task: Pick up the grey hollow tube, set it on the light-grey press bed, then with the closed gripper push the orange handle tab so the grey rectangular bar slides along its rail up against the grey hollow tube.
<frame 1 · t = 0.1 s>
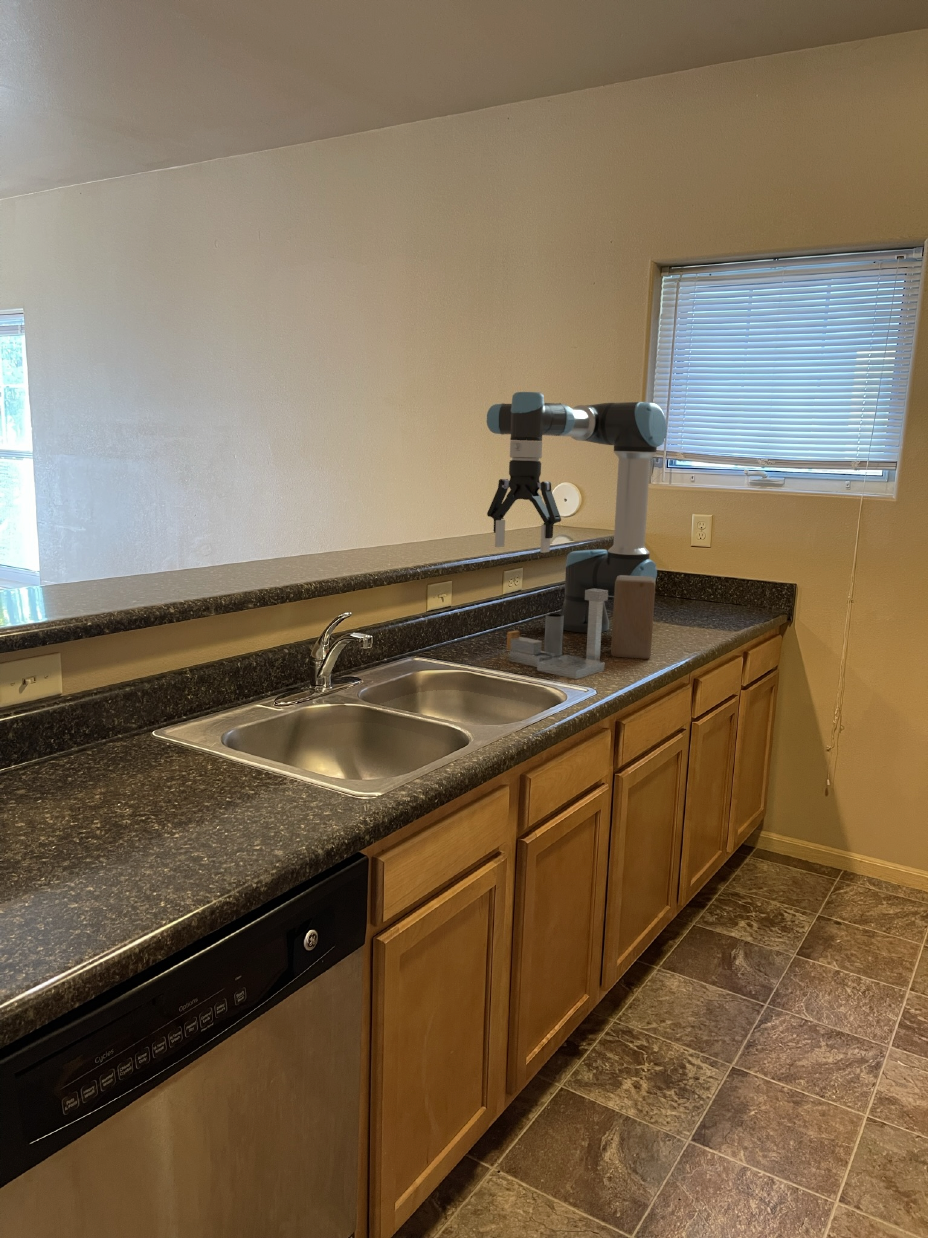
hand: (521, 549, 219), 28 cm above the counter, fingers open, 13 cm apart
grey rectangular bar: (524, 642, 226), point 4 cm above the counter, slide at 0.0 cm
grey hollow tube: (552, 655, 234), on the counter
wooden block: (630, 655, 237), on the counter
press: (540, 663, 224), on the counter
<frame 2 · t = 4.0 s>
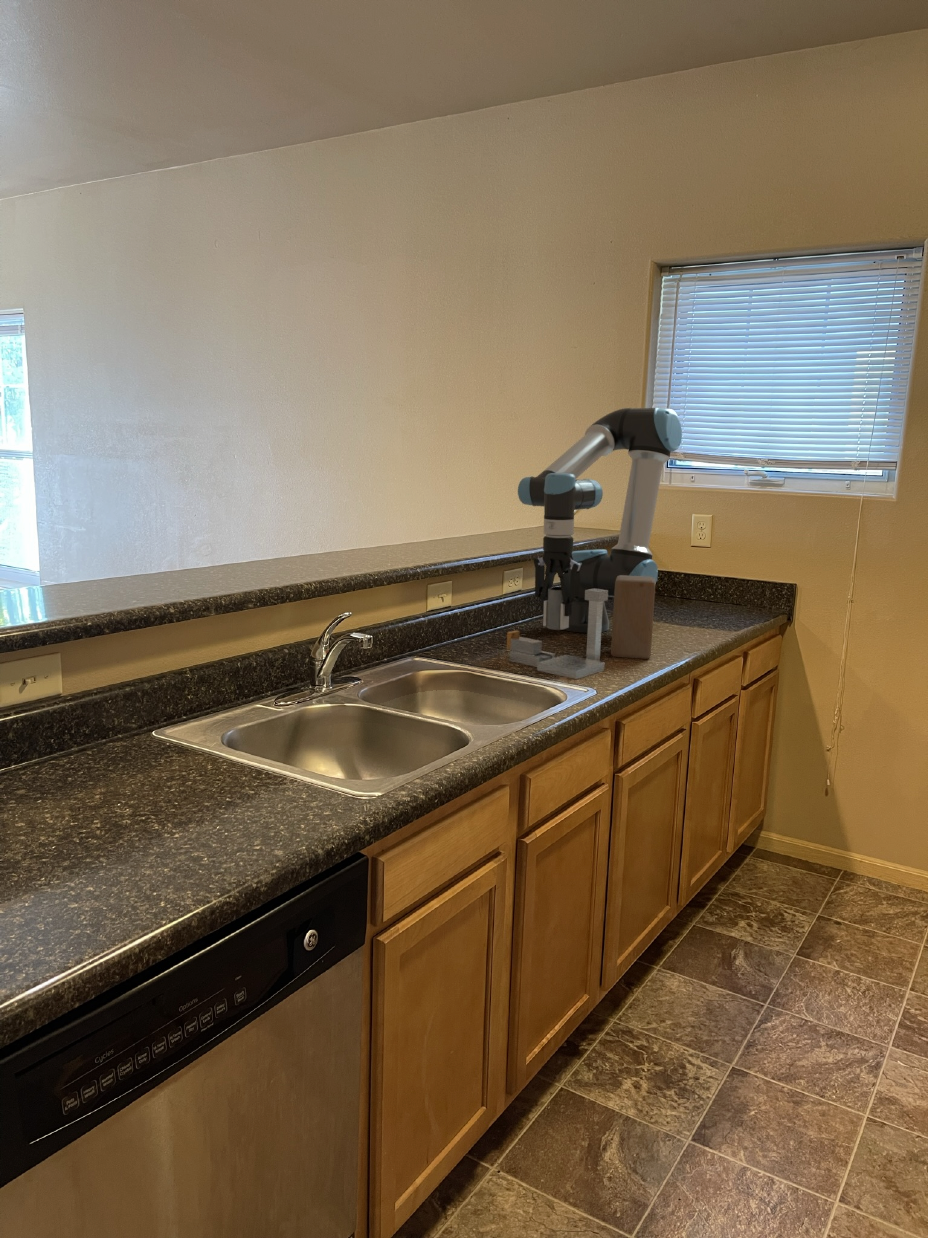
hand: (555, 626, 234), 7 cm above the counter, fingers closed on grey hollow tube, 4 cm apart
grey hollow tube: (556, 628, 234), point 7 cm above the counter, touching gripper
everything else where it was.
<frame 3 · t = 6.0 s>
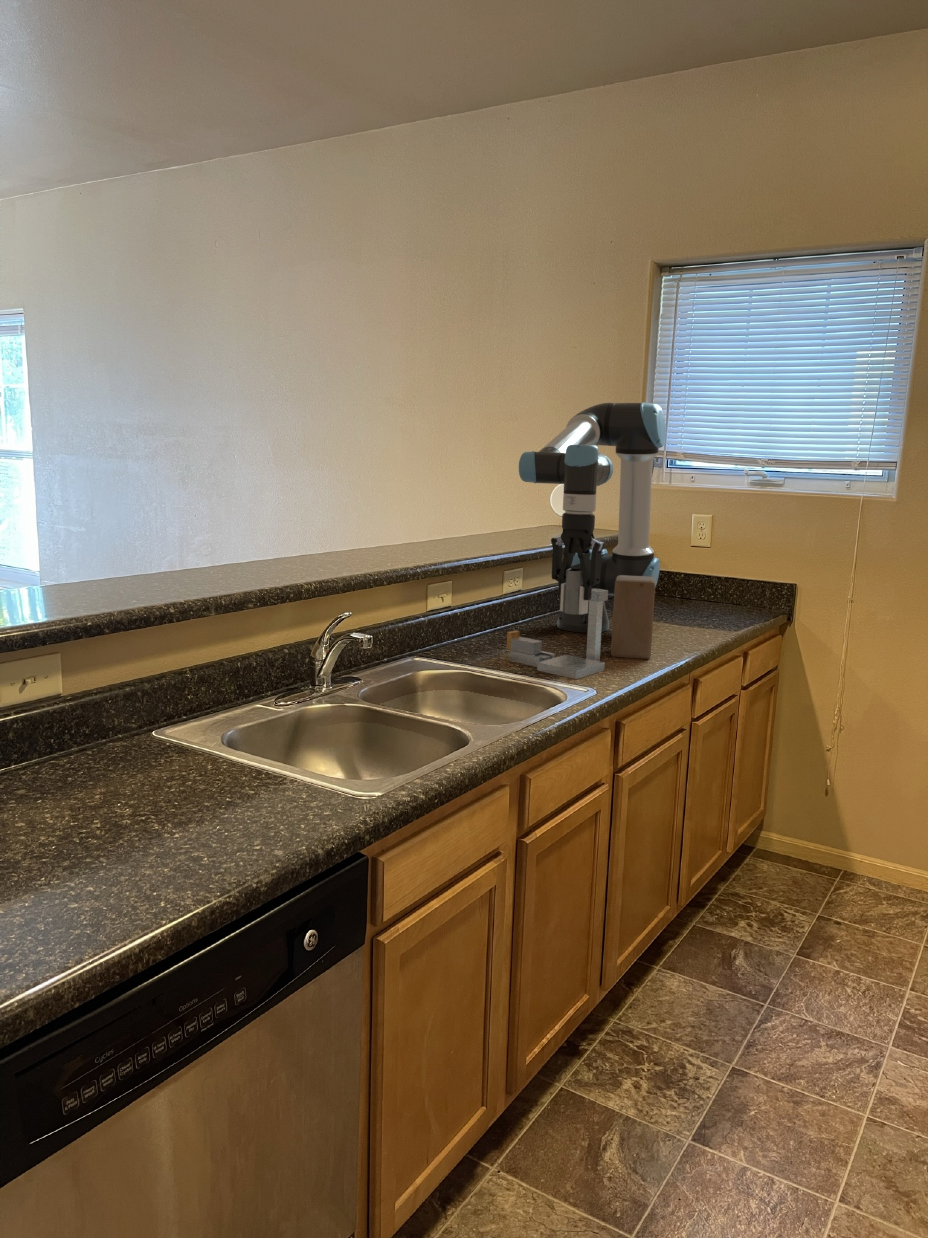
hand: (573, 611, 215), 14 cm above the counter, fingers closed on grey hollow tube, 4 cm apart
grey hollow tube: (573, 613, 215), point 14 cm above the counter, touching gripper
everything else where it was.
when the fingers open (3 cm above the counter, at t = 8.1 s): grey hollow tube stays where it is, resting on press.
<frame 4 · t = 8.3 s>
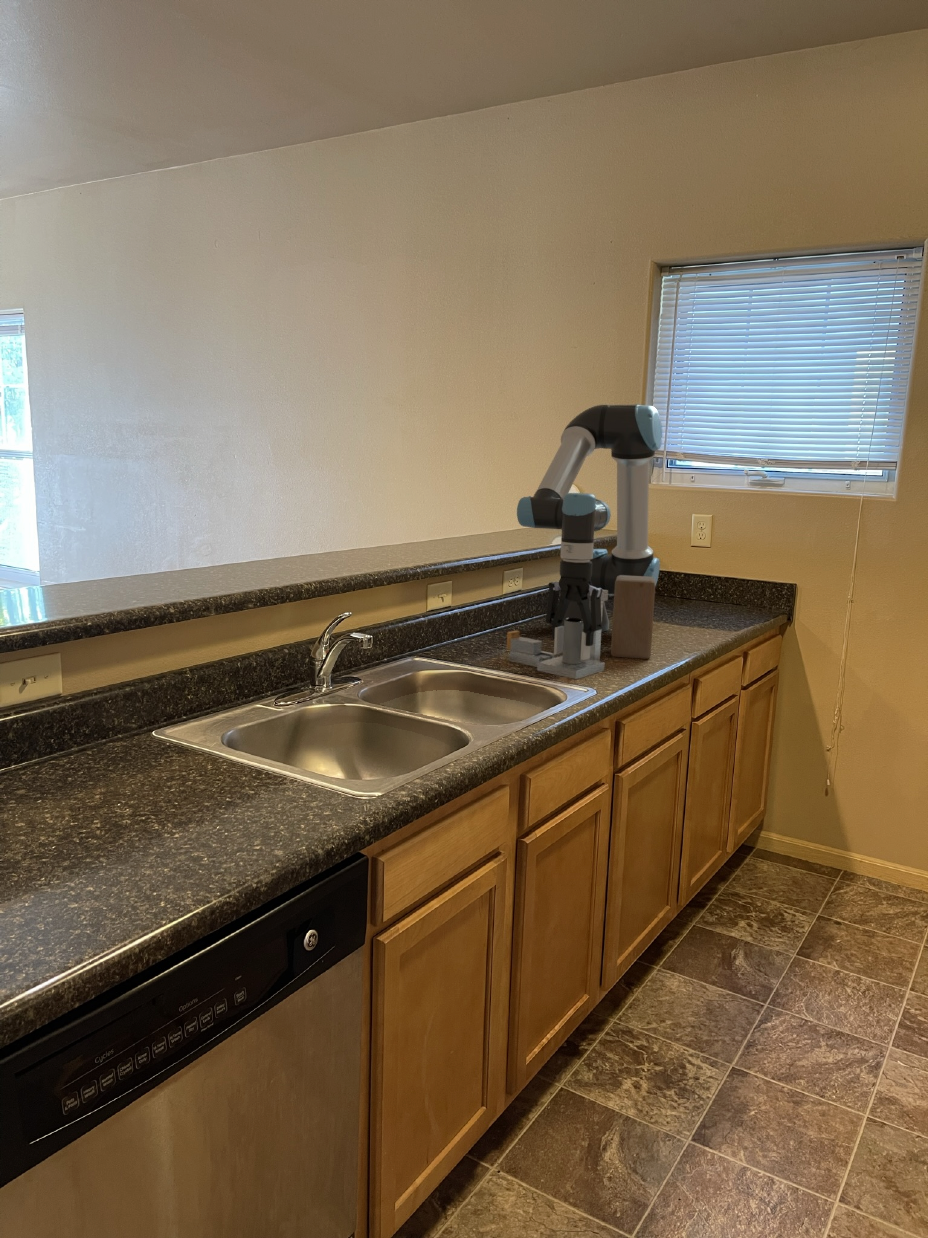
hand: (571, 656, 217), 4 cm above the counter, fingers open, 7 cm apart
grey hollow tube: (571, 662, 218), point 2 cm above the counter, touching press
everything else where it was.
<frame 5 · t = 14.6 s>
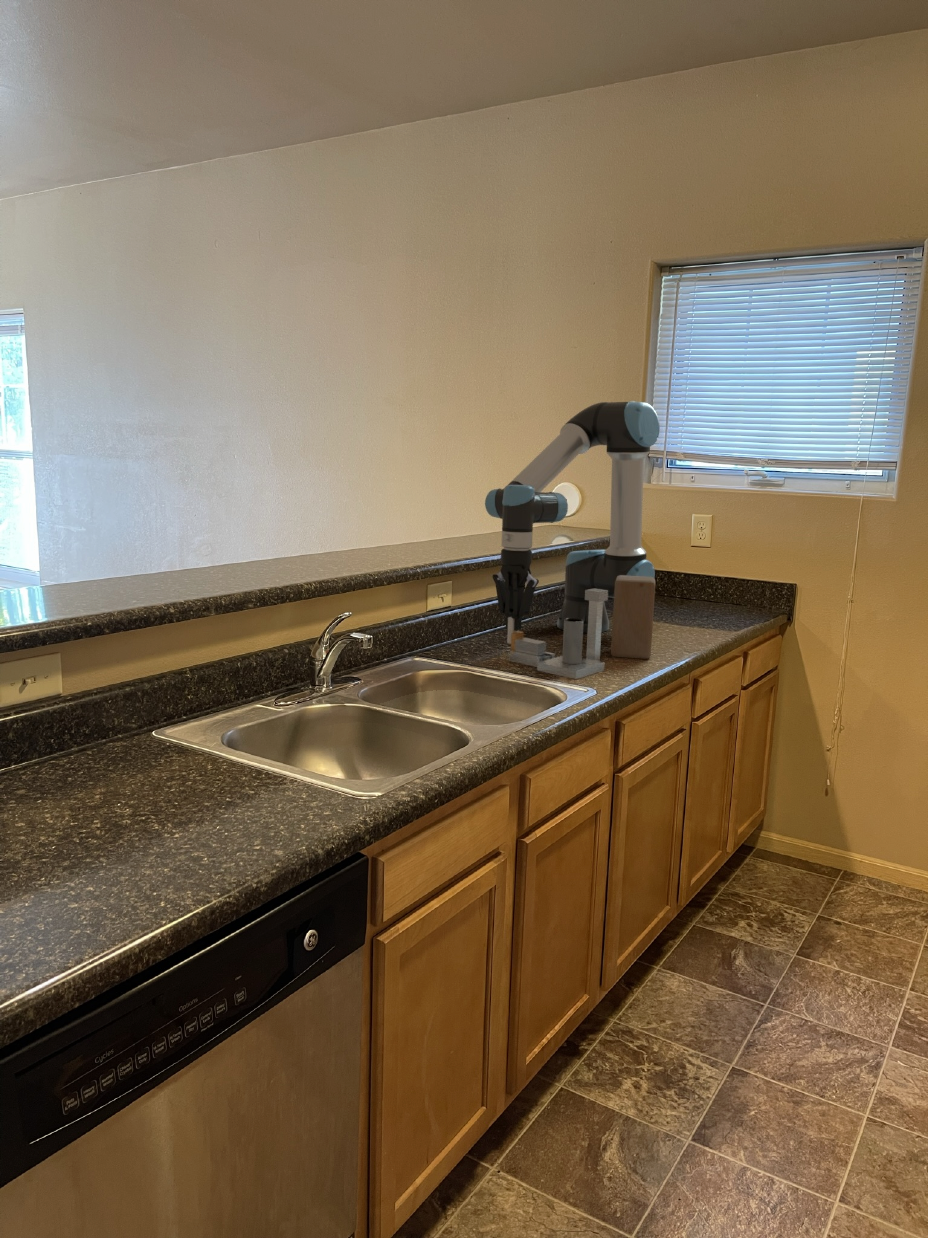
hand: (512, 642, 228), 4 cm above the counter, fingers closed
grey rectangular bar: (528, 643, 225), point 4 cm above the counter, slide at 1.3 cm, touching gripper
everything else where it was.
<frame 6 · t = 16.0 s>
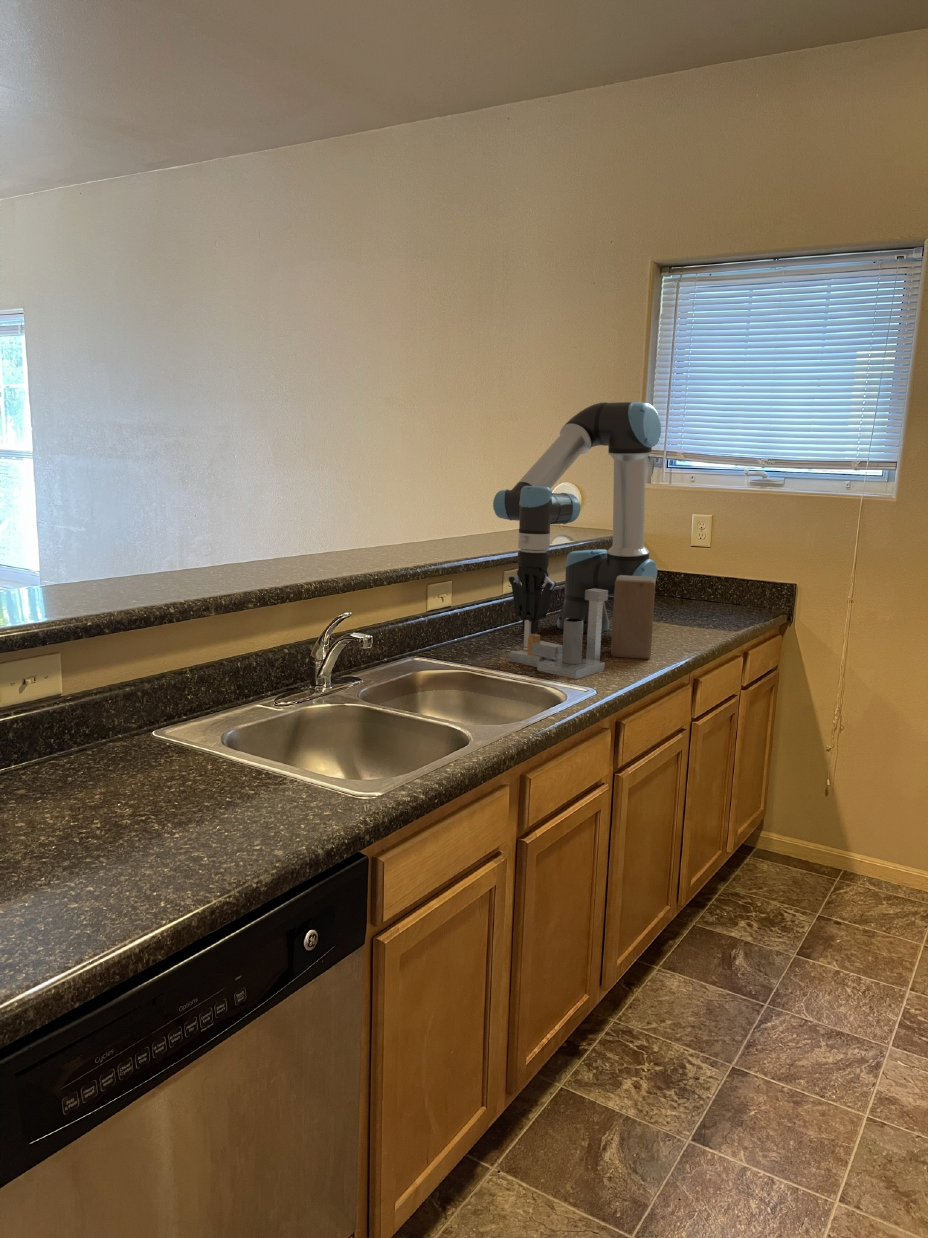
hand: (529, 645, 225), 4 cm above the counter, fingers closed
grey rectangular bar: (545, 646, 222), point 5 cm above the counter, slide at 6.5 cm, touching gripper
everything else where it was.
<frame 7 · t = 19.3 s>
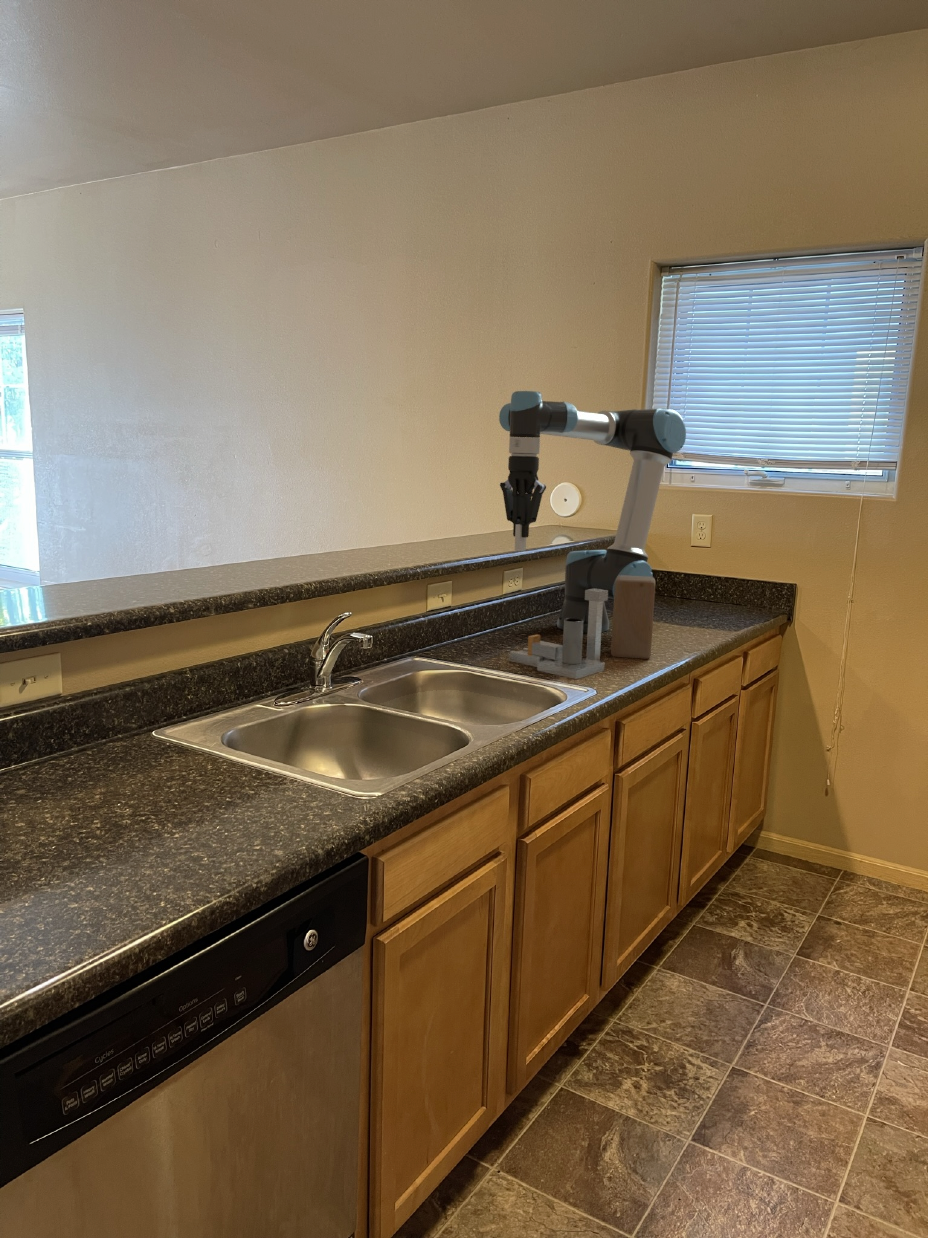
hand: (520, 550, 231), 26 cm above the counter, fingers closed
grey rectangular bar: (545, 646, 222), point 4 cm above the counter, slide at 6.5 cm
everything else where it was.
at the end: grey hollow tube inside the target area on the press (0.3 cm from its centre), point 1.8 cm above the press's base; grey hollow tube tilted 0°; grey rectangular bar slide at 6.5 cm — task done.
